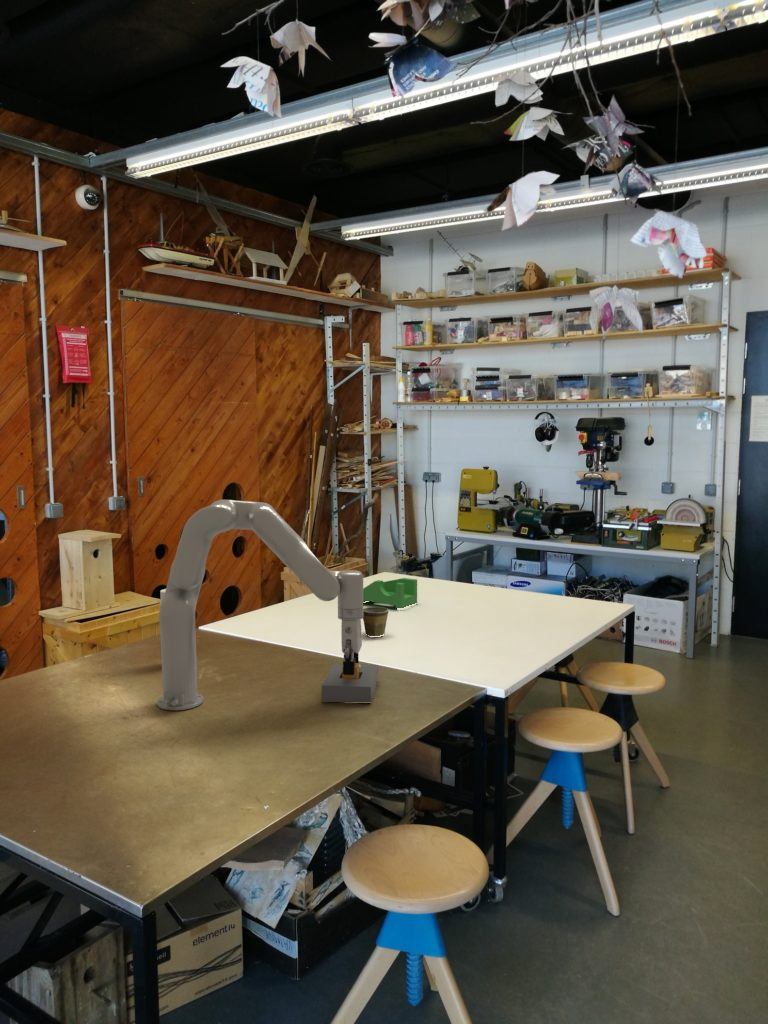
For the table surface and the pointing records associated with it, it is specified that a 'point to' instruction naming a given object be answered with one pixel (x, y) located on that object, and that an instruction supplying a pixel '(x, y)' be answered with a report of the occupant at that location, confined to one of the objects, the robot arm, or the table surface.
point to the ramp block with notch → (392, 592)
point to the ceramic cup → (375, 620)
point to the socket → (350, 685)
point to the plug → (356, 671)
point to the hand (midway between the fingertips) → (351, 669)
